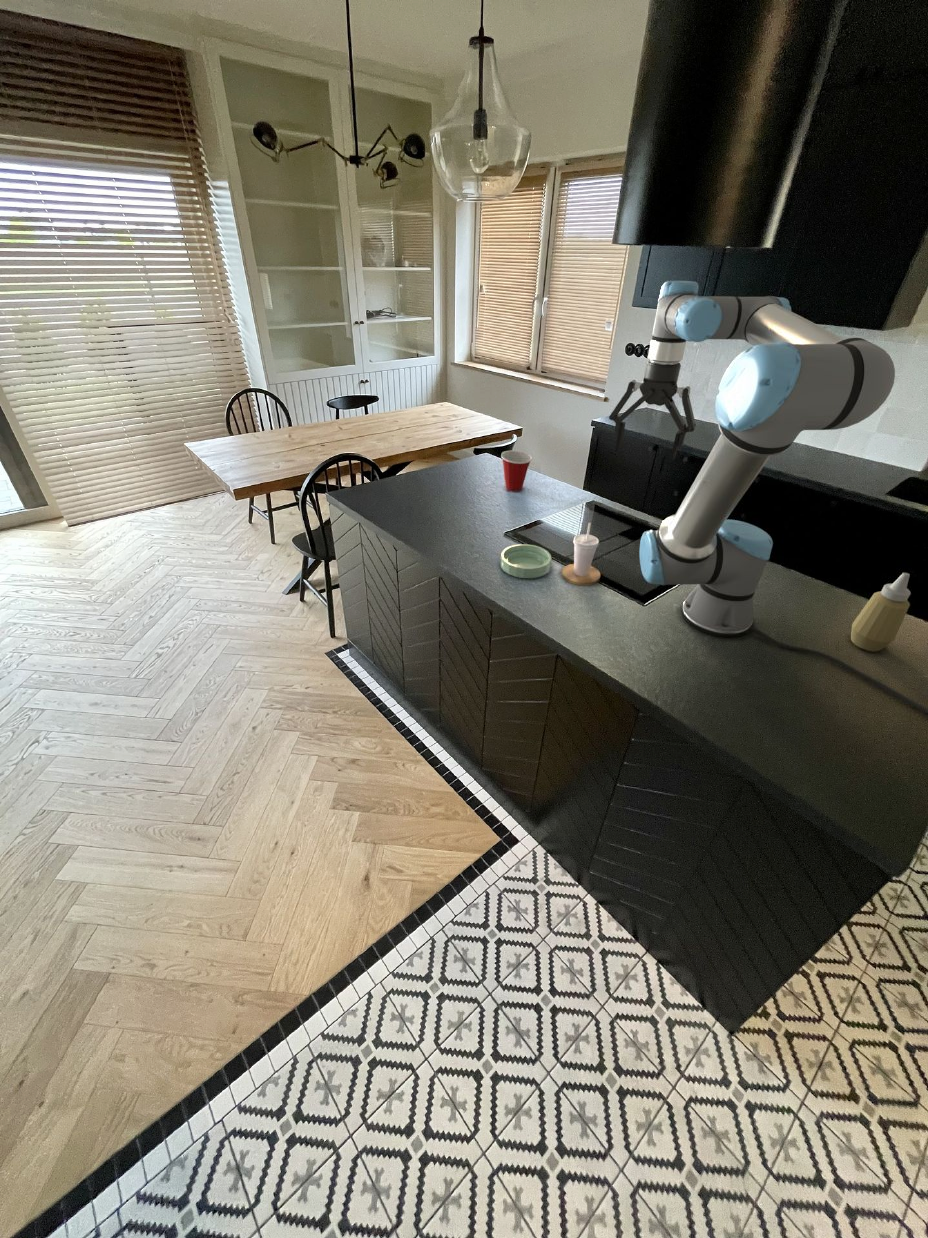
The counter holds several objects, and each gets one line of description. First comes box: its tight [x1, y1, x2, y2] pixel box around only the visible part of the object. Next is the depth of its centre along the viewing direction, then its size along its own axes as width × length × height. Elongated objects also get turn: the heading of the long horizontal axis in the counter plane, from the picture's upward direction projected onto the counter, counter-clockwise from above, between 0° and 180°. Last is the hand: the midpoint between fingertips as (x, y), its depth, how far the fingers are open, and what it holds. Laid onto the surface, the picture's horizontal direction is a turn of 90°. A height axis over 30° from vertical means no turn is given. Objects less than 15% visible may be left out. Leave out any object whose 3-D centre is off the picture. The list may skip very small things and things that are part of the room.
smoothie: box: [572, 522, 600, 576], centre depth 136 cm, size 6×6×14 cm
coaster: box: [561, 563, 601, 586], centre depth 140 cm, size 10×10×1 cm
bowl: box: [500, 543, 553, 579], centre depth 143 cm, size 13×13×3 cm
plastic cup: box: [500, 449, 533, 492], centre depth 185 cm, size 11×11×12 cm
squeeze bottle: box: [850, 572, 912, 652], centre depth 112 cm, size 8×8×18 cm
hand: (644, 454), depth 133 cm, fingers open, 13 cm apart
